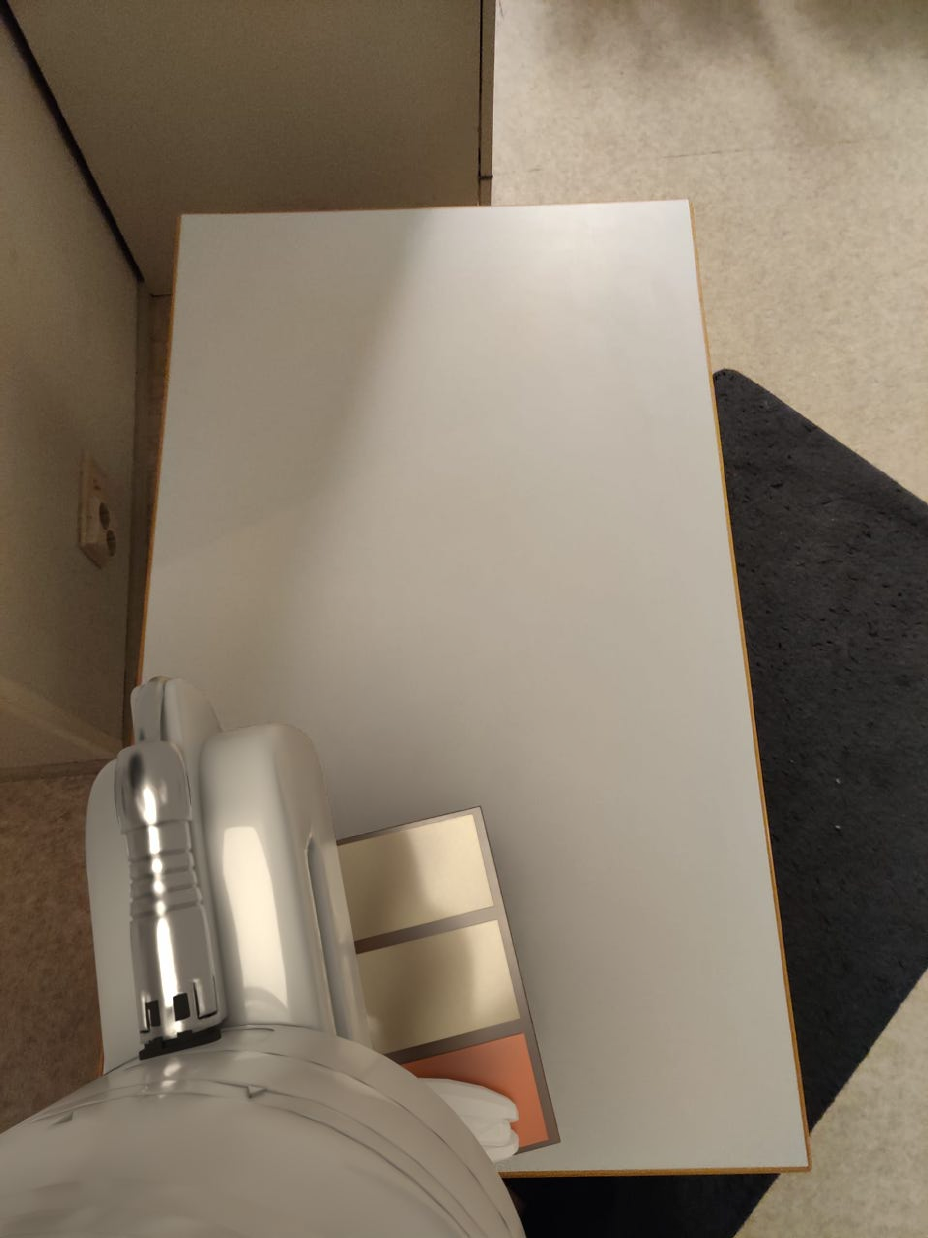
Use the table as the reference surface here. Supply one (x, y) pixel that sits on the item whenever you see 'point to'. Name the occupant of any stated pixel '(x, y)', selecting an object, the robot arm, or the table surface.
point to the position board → (444, 962)
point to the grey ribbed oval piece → (481, 1114)
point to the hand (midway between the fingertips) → (341, 1122)
